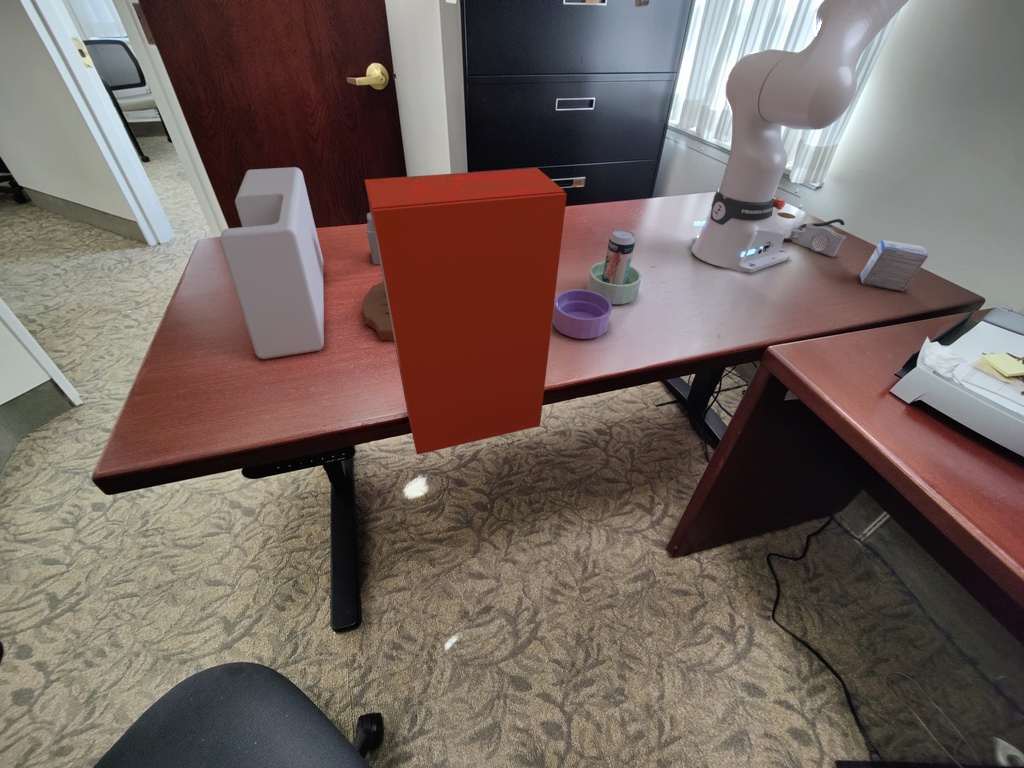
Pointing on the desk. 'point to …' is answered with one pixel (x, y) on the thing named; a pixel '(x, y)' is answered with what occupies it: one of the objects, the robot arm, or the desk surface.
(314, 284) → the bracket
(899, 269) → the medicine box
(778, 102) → the robot arm
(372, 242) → the power adapter
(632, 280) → the celadon bowl
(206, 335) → the desk surface
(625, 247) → the white cylindrical canister
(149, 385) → the desk surface
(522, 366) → the red tall rectangular block
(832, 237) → the grey grilled flat device
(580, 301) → the lavender bowl
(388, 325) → the plant
